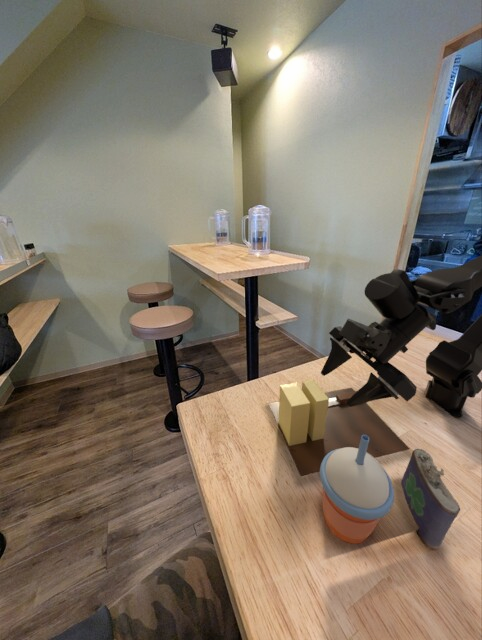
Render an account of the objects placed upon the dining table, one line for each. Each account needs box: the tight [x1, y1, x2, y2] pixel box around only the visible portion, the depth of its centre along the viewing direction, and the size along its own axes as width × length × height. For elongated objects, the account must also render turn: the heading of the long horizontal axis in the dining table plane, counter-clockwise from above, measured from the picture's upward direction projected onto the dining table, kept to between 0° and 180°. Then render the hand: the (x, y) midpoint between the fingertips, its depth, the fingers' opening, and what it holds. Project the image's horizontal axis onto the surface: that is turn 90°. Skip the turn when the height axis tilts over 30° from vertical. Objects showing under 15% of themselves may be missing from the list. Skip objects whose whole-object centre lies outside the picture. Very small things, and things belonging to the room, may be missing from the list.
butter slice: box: [301, 379, 329, 441], centre depth 50 cm, size 2×6×10 cm, turn 13°
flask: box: [400, 448, 461, 550], centre depth 36 cm, size 9×3×11 cm, turn 172°
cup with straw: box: [319, 435, 395, 544], centre depth 34 cm, size 9×9×18 cm
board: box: [268, 387, 410, 477], centre depth 53 cm, size 22×18×2 cm
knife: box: [328, 390, 358, 407], centre depth 58 cm, size 15×2×1 cm, turn 102°
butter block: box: [278, 382, 310, 446], centre depth 49 cm, size 4×6×10 cm, turn 12°
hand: (334, 388), depth 49 cm, fingers open, 9 cm apart
